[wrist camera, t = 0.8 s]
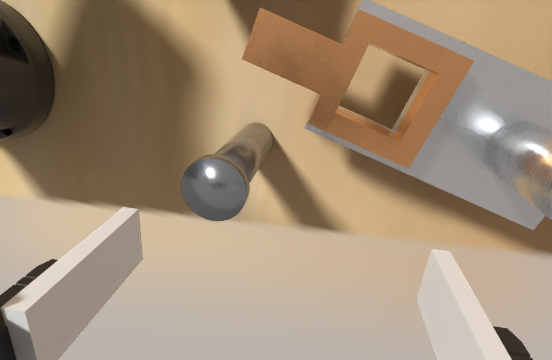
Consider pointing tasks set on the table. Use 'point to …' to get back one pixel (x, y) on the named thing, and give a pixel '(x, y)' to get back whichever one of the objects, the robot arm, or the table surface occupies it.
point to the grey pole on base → (427, 108)
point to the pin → (226, 174)
